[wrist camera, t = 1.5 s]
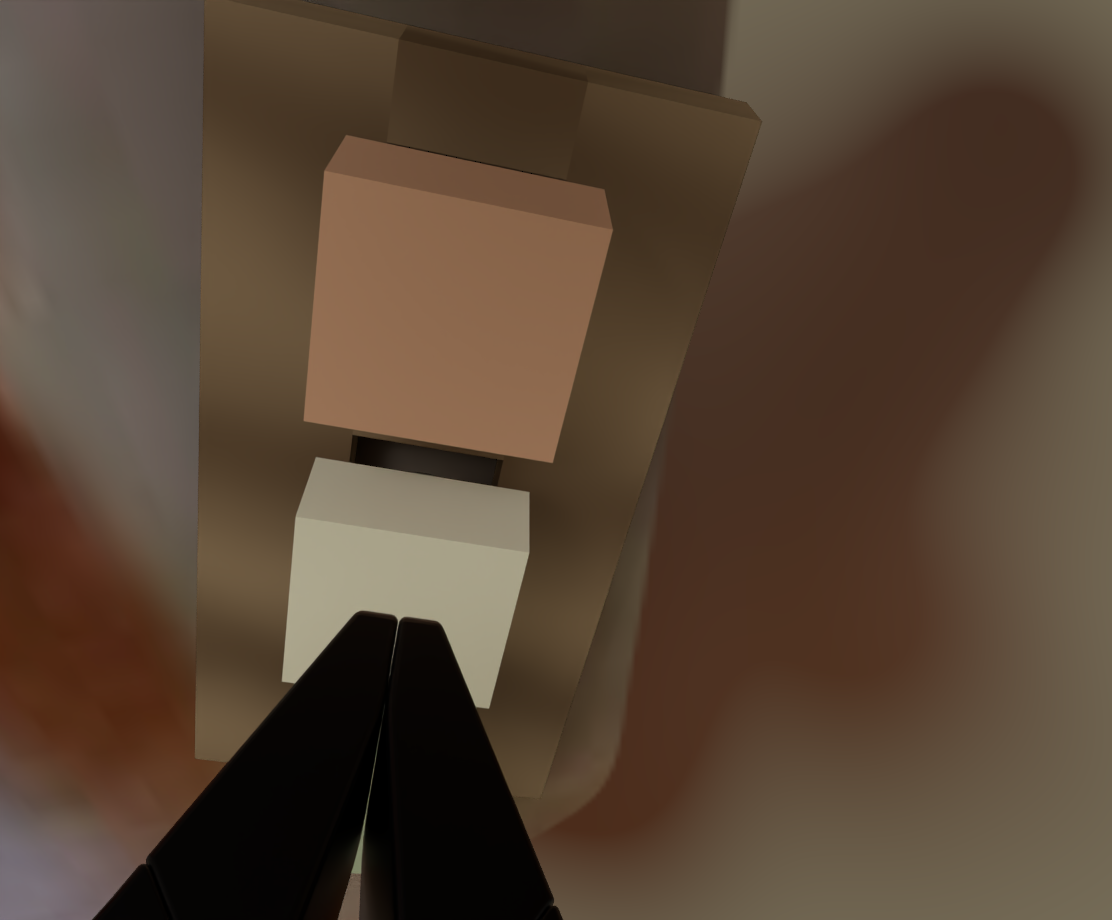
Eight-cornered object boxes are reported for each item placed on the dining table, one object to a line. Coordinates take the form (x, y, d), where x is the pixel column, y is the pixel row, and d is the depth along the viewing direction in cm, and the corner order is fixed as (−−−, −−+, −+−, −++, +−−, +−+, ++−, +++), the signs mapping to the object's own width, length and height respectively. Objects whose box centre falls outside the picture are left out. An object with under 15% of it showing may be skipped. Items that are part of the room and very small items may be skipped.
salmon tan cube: (549, 370, 20) (552, 462, 17) (337, 332, 19) (303, 420, 16) (598, 164, 17) (613, 230, 14) (360, 112, 17) (324, 170, 14)
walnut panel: (539, 758, 29) (540, 799, 28) (209, 717, 28) (195, 758, 27) (746, 102, 19) (762, 121, 17) (227, -17, 17) (205, -5, 16)
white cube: (494, 599, 23) (488, 708, 20) (313, 572, 23) (281, 681, 20) (529, 452, 21) (529, 553, 18) (329, 419, 20) (295, 516, 17)
